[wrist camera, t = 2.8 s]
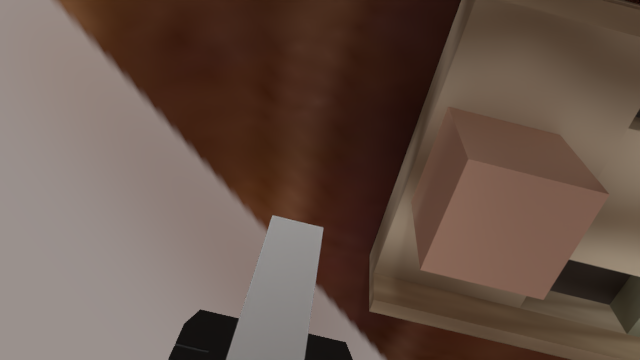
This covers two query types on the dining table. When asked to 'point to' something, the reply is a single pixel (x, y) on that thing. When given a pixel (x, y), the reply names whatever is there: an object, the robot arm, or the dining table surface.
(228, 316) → the robot arm
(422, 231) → the terracotta block
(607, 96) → the tray
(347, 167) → the dining table surface
